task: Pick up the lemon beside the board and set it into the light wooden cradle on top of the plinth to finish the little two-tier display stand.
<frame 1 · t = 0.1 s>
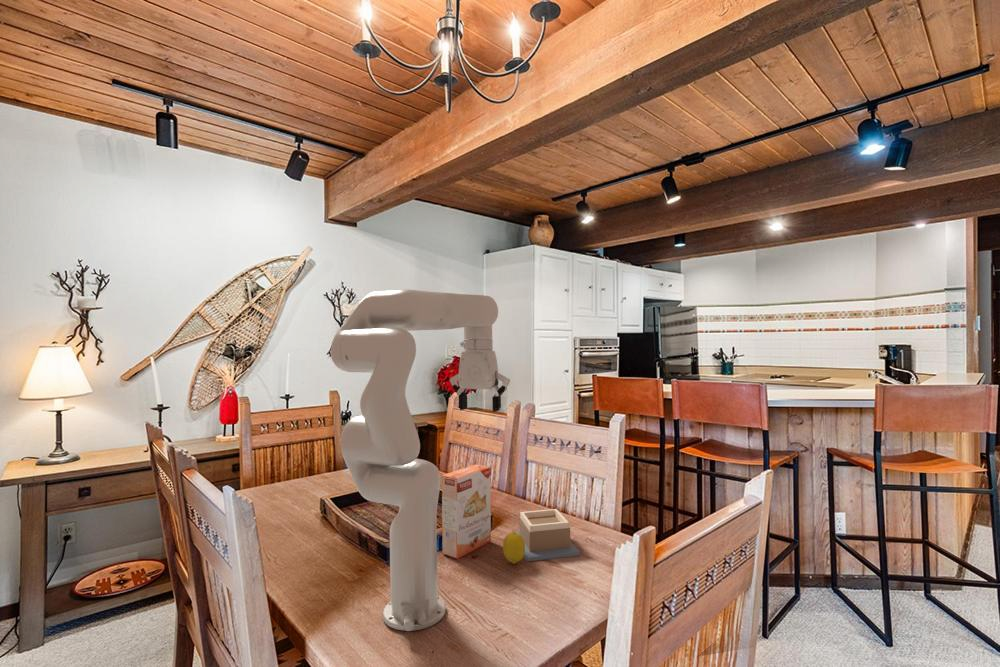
hand: (479, 410, 132), 37 cm above the table, tool pointing down, fingers open, 9 cm apart
cracker box: (467, 548, 133), on the table
lemon: (514, 564, 123), on the table
stand: (544, 544, 134), on the table
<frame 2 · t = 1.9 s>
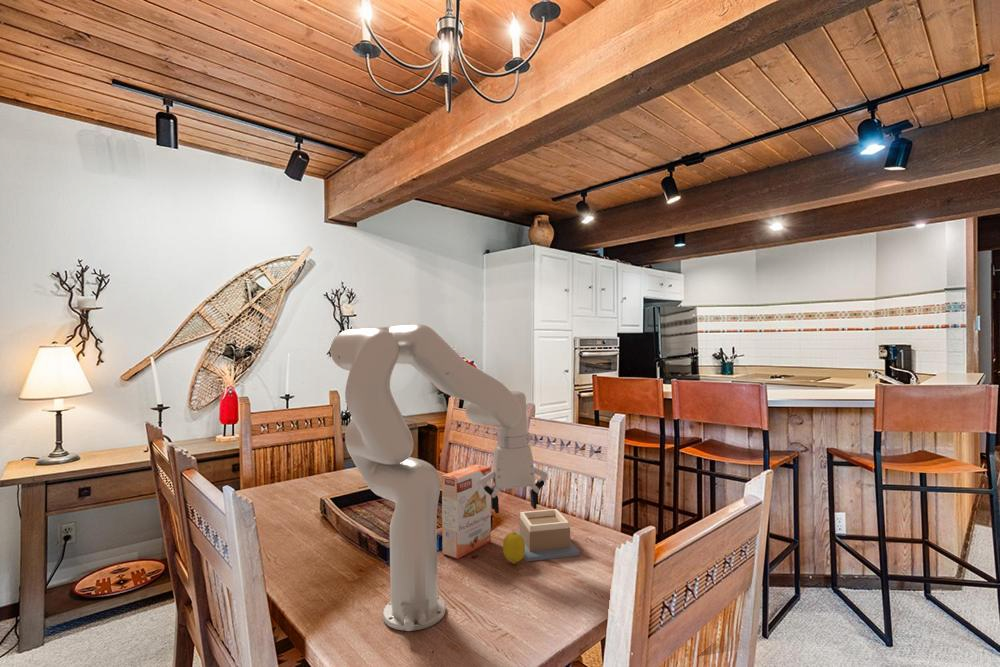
hand: (515, 509, 124), 13 cm above the table, tool pointing down, fingers open, 9 cm apart
nothing on the table moved.
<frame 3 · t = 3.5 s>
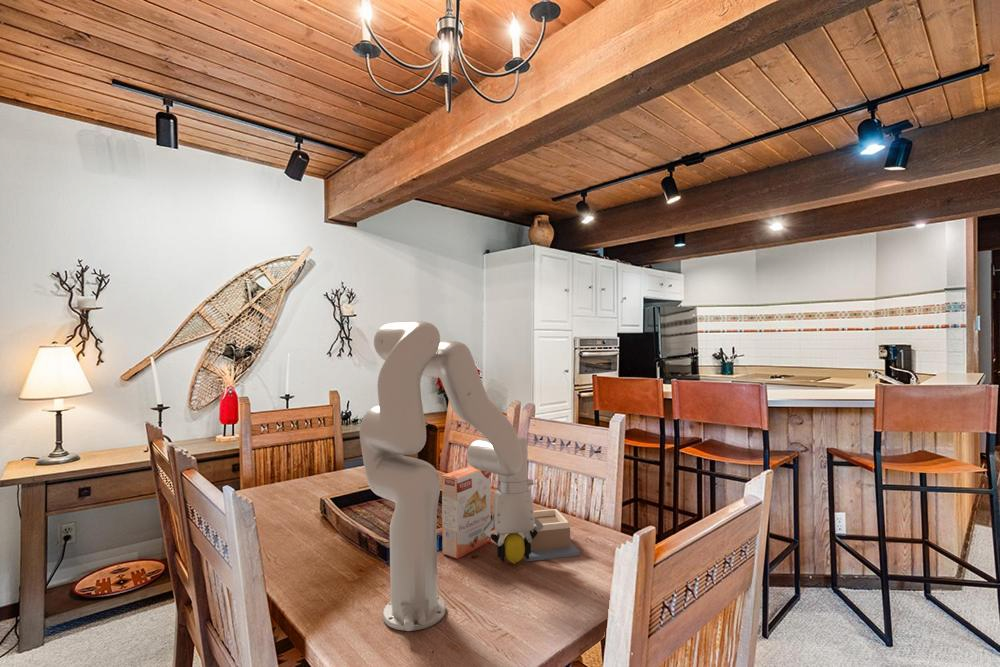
hand: (514, 557, 123), 2 cm above the table, tool pointing down, fingers closed on lemon, 5 cm apart
lemon: (514, 564, 123), on the table, touching gripper
everything else where it was.
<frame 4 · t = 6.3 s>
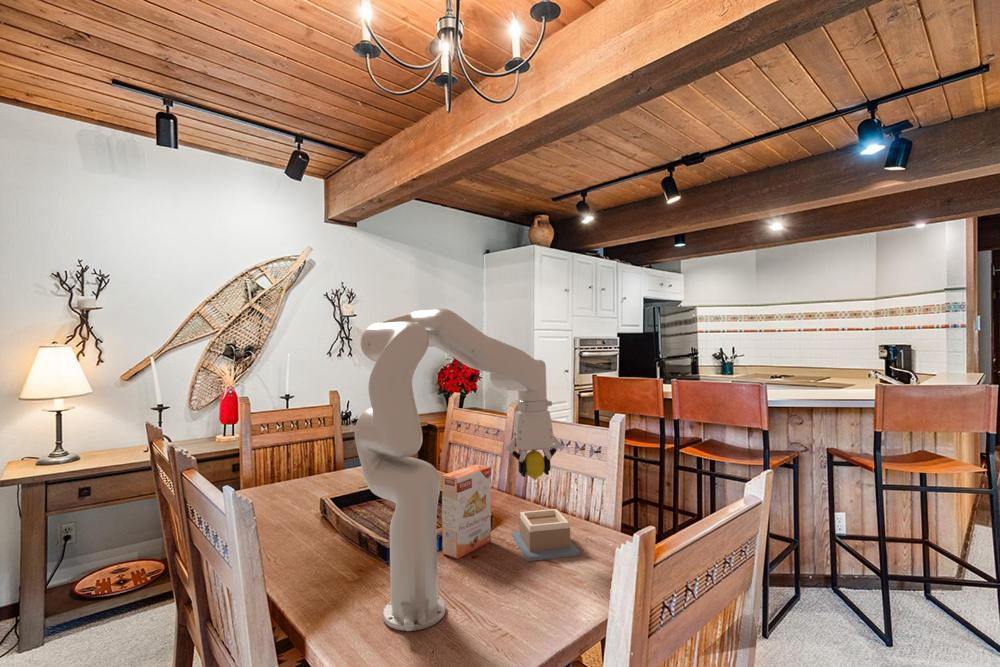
hand: (534, 473, 131), 20 cm above the table, tool pointing down, fingers closed on lemon, 5 cm apart
lemon: (534, 480, 131), point 18 cm above the table, touching gripper
everything else where it was.
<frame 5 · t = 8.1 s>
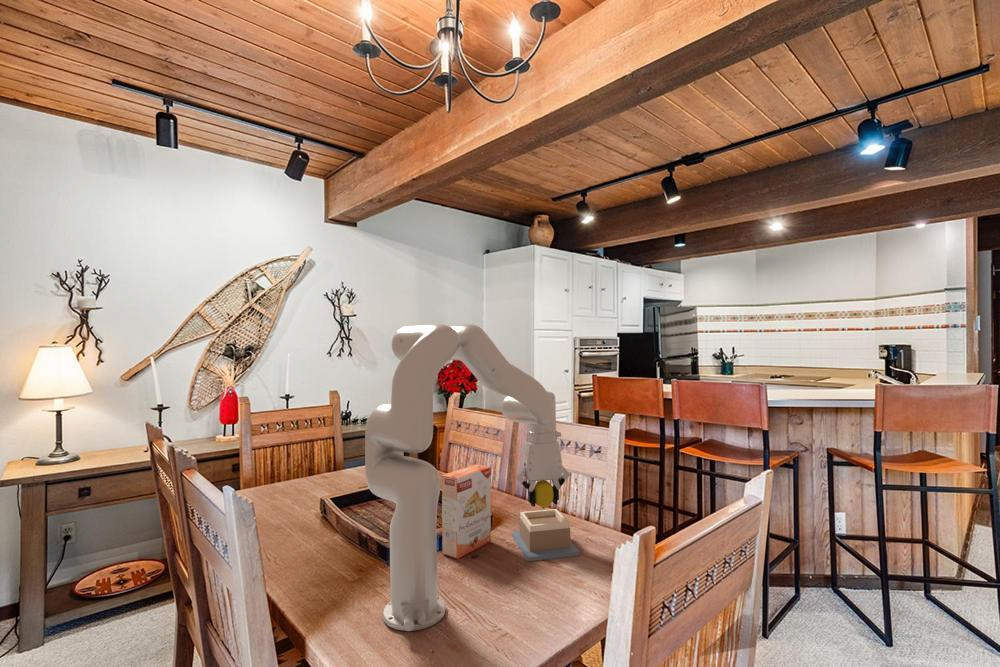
hand: (543, 503, 134), 11 cm above the table, tool pointing down, fingers closed on lemon, 5 cm apart
lemon: (543, 509, 134), point 10 cm above the table, touching gripper
everything else where it was.
when the fingers open (9 cm above the table, at t = 9.3 s): lemon drops 2 cm, resting on stand.
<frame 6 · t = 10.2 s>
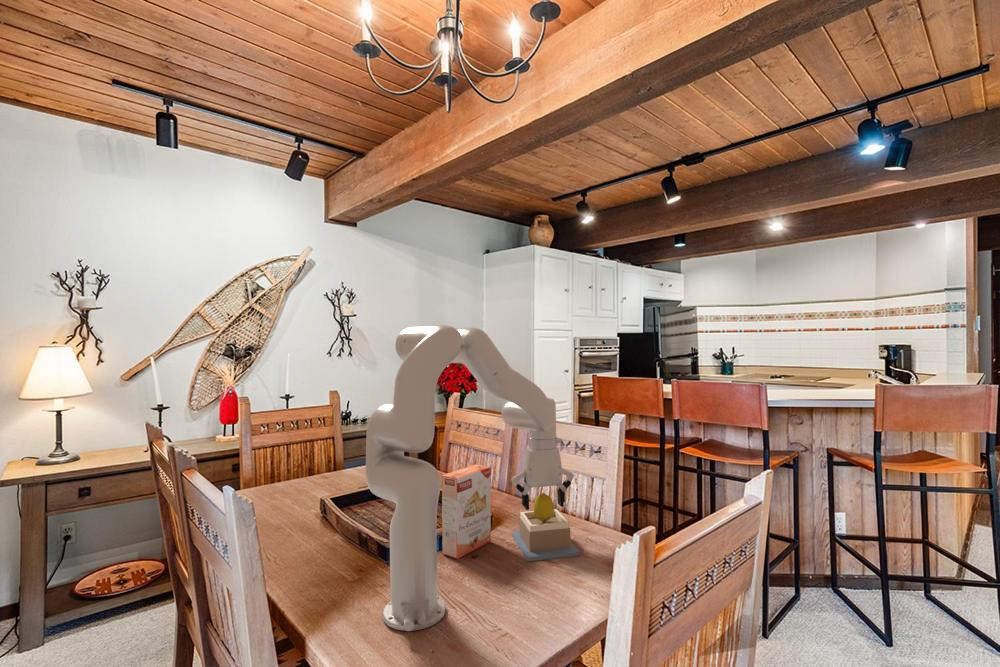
hand: (543, 506, 134), 10 cm above the table, tool pointing down, fingers open, 9 cm apart
lemon: (543, 523, 134), point 6 cm above the table, touching stand
everything else where it was.
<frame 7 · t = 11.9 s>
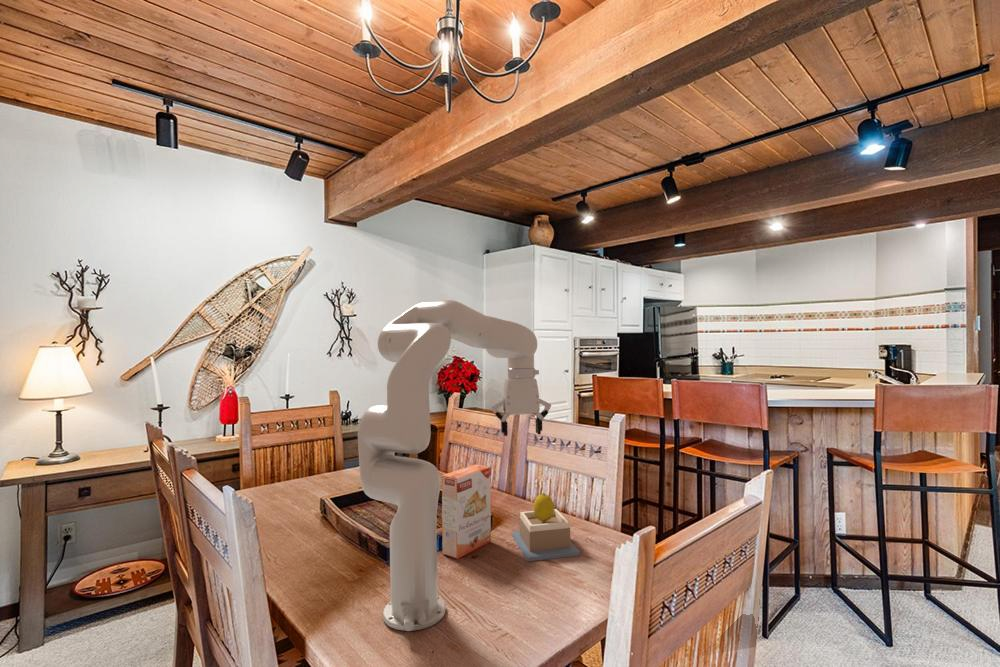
hand: (521, 434, 141), 29 cm above the table, tool pointing down, fingers open, 9 cm apart
nothing on the table moved.
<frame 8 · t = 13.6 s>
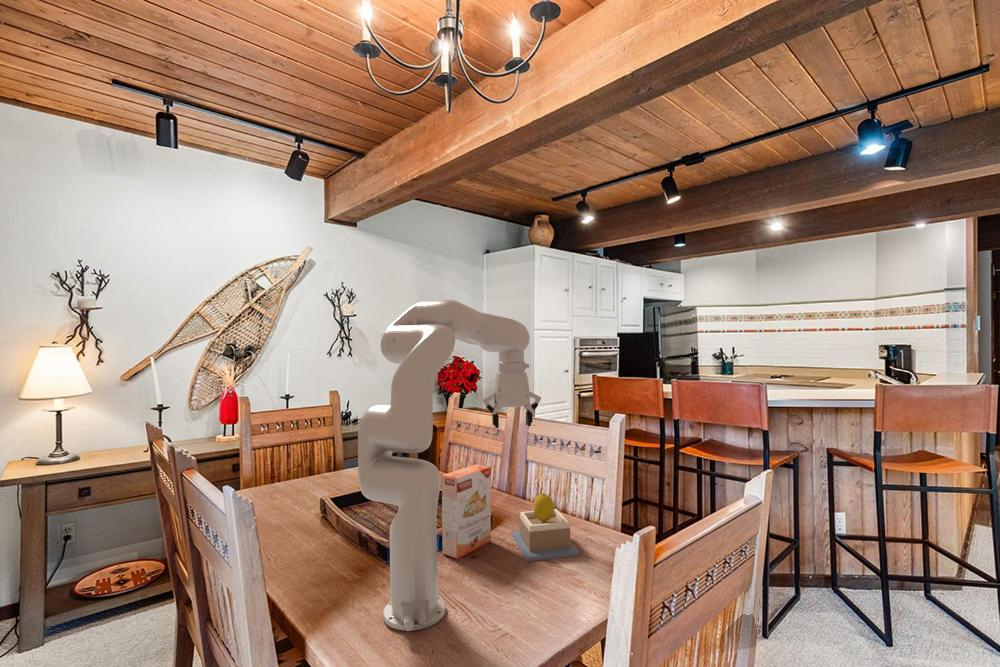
hand: (512, 426, 145), 30 cm above the table, tool pointing down, fingers open, 9 cm apart
nothing on the table moved.
at the end: lemon 0.1 cm off-centre on the stand, point 5.8 cm above the stand's base; the gripper is holding nothing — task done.
